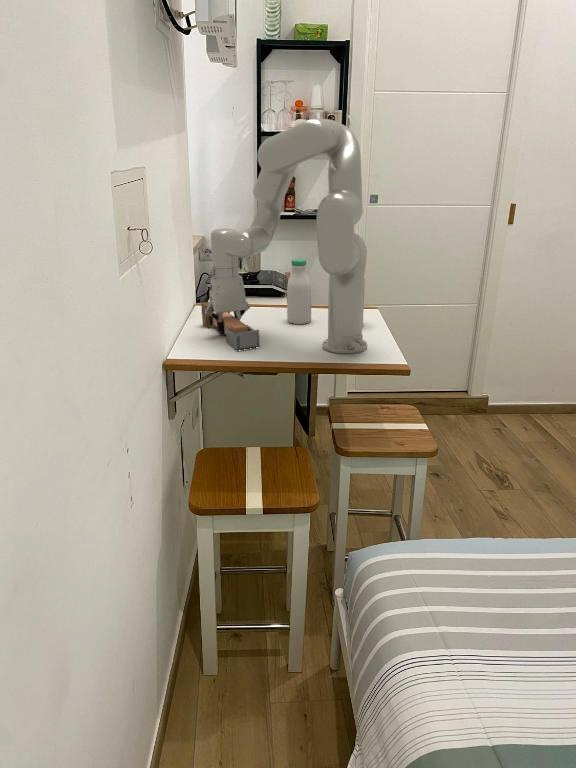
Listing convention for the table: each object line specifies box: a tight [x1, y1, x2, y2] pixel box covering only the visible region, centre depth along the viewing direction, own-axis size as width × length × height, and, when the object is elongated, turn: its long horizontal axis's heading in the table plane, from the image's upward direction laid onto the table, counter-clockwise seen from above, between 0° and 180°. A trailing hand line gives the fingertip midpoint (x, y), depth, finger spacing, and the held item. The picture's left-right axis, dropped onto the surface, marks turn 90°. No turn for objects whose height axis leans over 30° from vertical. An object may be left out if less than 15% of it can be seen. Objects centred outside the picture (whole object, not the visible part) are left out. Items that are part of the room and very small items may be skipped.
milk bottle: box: [286, 258, 312, 325], centre depth 193 cm, size 8×8×20 cm
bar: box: [212, 311, 249, 335], centre depth 183 cm, size 20×4×4 cm, turn 25°
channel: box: [225, 324, 260, 352], centre depth 174 cm, size 9×7×5 cm
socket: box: [200, 301, 231, 329], centre depth 193 cm, size 4×8×7 cm, turn 115°
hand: (229, 331), depth 184 cm, fingers closed on bar, 4 cm apart
